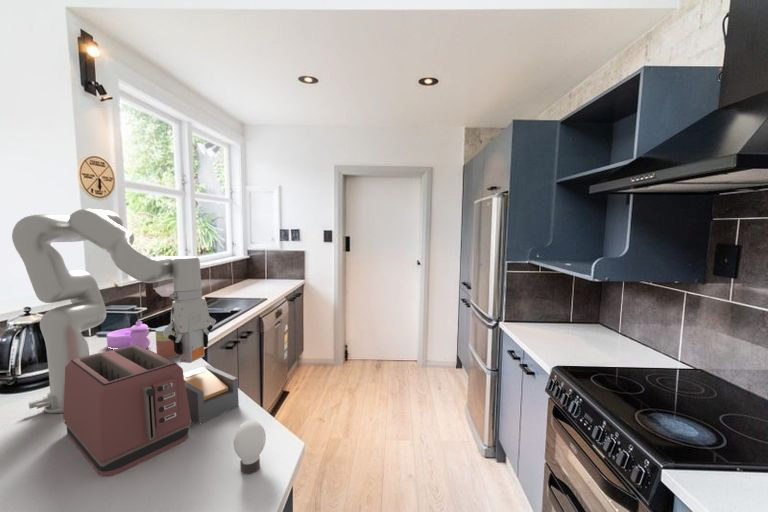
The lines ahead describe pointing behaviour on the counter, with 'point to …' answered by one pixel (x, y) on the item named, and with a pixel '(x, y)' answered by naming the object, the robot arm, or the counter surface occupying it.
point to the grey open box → (212, 398)
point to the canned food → (164, 343)
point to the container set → (129, 336)
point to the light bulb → (249, 445)
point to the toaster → (124, 407)
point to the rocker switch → (205, 382)
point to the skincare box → (192, 346)
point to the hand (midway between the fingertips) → (192, 349)
